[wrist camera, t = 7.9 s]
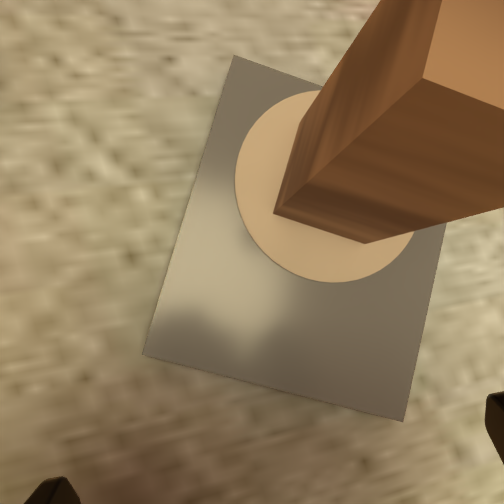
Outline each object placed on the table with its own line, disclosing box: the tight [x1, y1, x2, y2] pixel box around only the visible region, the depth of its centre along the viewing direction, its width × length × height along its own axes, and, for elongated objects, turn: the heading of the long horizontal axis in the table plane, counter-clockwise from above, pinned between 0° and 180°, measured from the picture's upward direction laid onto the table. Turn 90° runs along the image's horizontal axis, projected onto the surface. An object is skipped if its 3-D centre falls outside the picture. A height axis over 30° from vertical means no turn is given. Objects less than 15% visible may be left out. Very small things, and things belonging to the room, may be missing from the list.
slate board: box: [142, 55, 447, 422], centre depth 20 cm, size 14×12×2 cm
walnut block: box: [273, 0, 504, 244], centre depth 13 cm, size 4×4×12 cm
